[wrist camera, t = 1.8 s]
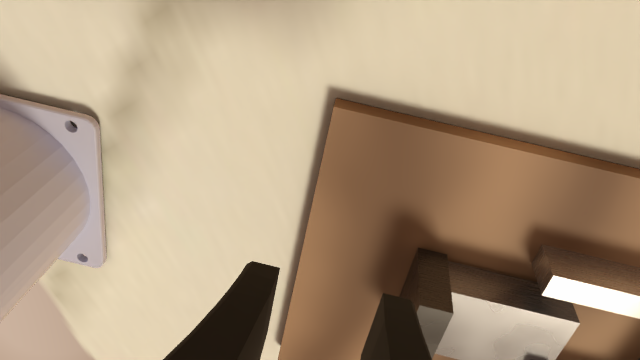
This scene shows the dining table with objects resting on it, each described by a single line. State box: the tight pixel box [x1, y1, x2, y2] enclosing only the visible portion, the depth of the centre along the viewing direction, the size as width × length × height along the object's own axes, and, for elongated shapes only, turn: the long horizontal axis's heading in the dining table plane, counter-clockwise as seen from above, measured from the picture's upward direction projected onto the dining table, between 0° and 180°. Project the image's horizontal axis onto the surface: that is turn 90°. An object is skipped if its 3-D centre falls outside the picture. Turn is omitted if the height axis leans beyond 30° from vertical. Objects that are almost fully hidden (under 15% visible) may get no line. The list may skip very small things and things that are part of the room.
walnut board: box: [278, 98, 640, 360], centre depth 22 cm, size 18×14×1 cm
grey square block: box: [399, 248, 580, 360], centre depth 20 cm, size 6×6×3 cm
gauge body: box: [532, 244, 640, 360], centre depth 20 cm, size 8×7×3 cm
